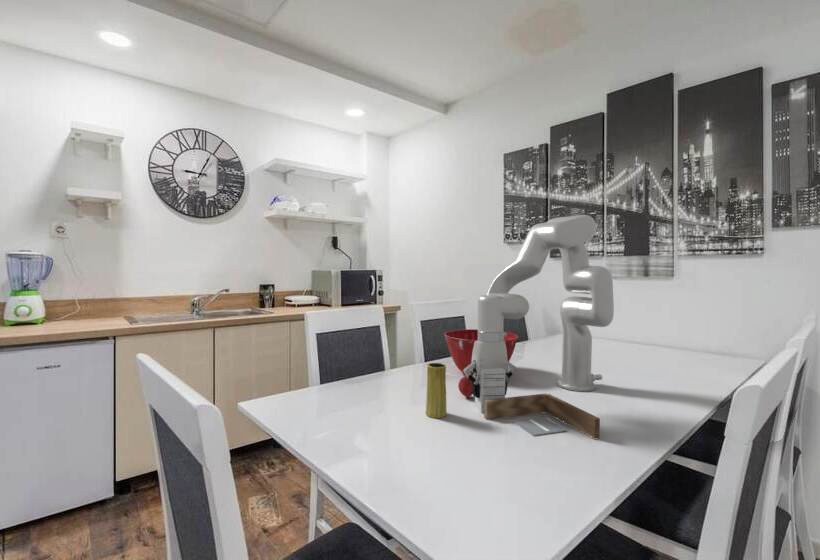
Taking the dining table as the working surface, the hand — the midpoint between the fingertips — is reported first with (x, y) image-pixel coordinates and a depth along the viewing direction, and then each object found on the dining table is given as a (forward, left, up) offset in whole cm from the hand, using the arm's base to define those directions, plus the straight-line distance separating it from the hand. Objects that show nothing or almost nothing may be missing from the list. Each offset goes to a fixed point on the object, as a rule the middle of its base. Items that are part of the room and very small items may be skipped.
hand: (489, 395), depth 123 cm
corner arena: (-5, +17, -4) cm, 18 cm away
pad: (-6, +16, -4) cm, 18 cm away
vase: (+17, 0, -4) cm, 17 cm away
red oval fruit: (+2, -11, -4) cm, 12 cm away
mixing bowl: (-16, -37, -4) cm, 41 cm away
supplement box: (0, 0, -4) cm, 4 cm away
